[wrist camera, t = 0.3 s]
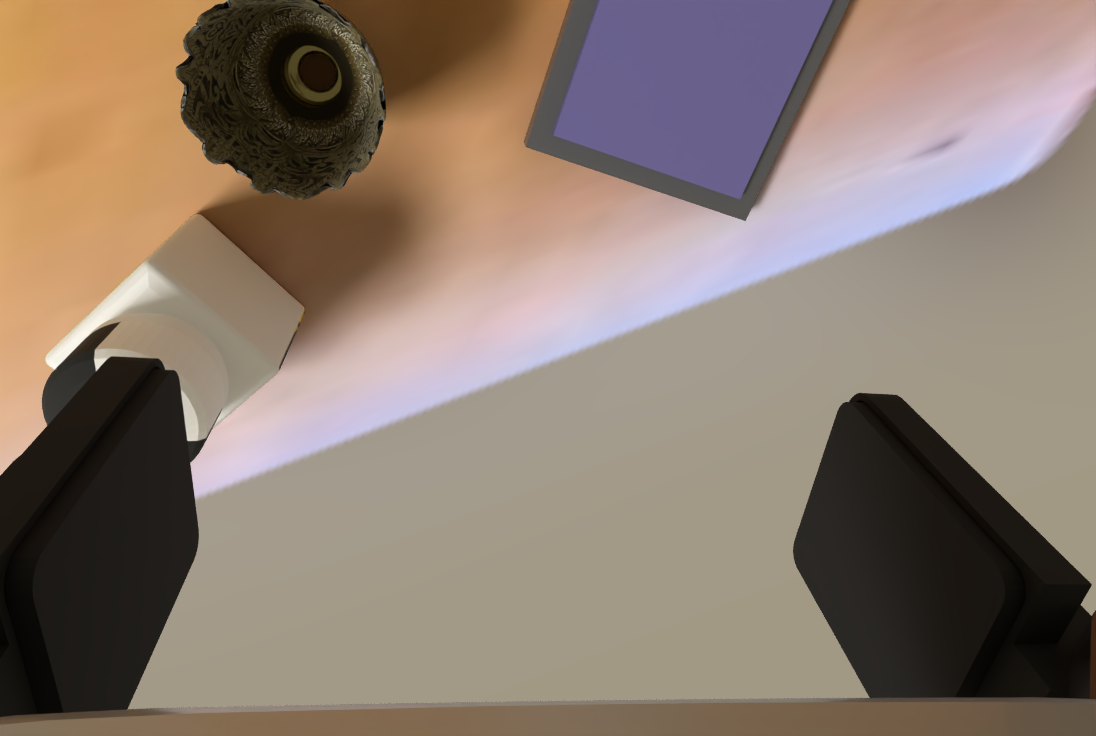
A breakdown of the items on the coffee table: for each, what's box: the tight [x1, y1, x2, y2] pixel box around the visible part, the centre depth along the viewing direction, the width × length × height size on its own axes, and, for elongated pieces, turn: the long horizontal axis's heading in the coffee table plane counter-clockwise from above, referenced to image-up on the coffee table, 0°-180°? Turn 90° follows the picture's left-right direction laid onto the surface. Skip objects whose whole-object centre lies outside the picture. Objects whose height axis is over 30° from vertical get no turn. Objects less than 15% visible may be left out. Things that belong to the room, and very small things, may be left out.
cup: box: [176, 0, 386, 200], centre depth 31 cm, size 8×7×8 cm
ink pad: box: [524, 0, 850, 221], centre depth 36 cm, size 12×12×2 cm
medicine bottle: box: [42, 214, 305, 462], centre depth 34 cm, size 7×7×12 cm
